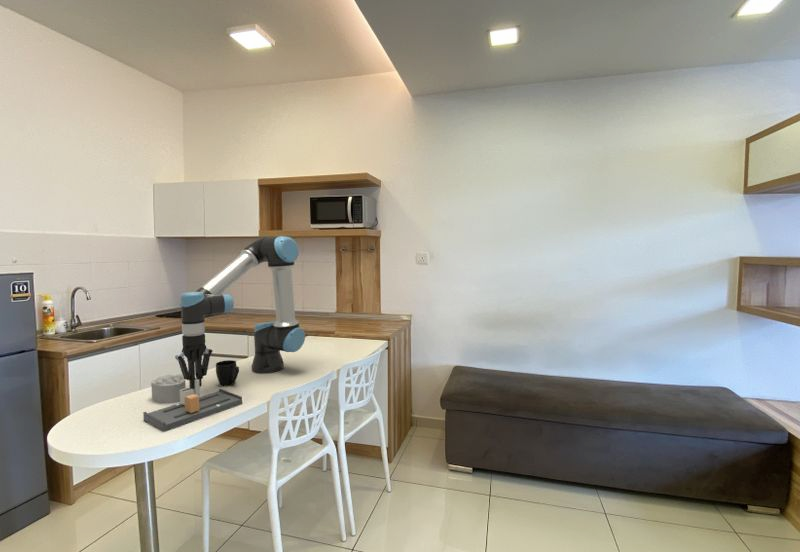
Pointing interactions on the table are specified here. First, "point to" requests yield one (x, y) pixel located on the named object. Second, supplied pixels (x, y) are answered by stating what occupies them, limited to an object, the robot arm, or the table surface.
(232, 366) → the mug
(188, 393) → the fader
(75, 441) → the table surface
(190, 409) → the fader
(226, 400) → the console
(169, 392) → the lumpy-topped squat cylinder
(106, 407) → the table surface
